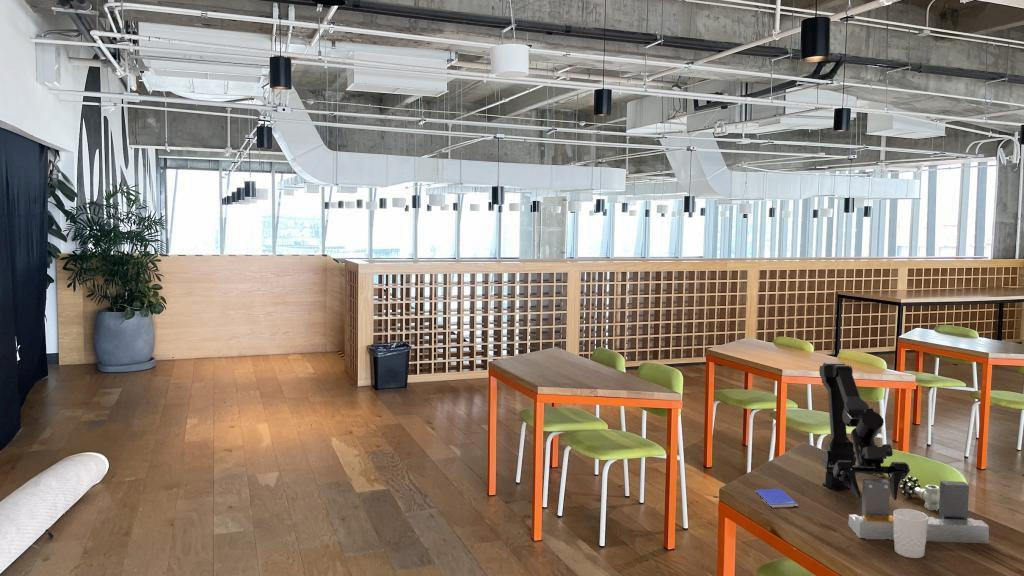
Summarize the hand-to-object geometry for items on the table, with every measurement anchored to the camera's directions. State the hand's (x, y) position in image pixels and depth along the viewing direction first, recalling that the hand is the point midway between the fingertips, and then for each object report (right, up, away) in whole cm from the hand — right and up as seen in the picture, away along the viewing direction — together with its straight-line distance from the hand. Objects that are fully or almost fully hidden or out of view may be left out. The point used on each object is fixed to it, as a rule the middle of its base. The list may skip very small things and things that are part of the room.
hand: (877, 499), depth 207 cm
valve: (+23, -7, +21) cm, 32 cm away
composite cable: (+21, -5, +48) cm, 52 cm away
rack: (+10, -9, -1) cm, 13 cm away
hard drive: (-19, -8, +25) cm, 32 cm away
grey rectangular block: (0, -8, +2) cm, 9 cm away
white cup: (+2, -10, -12) cm, 16 cm away
